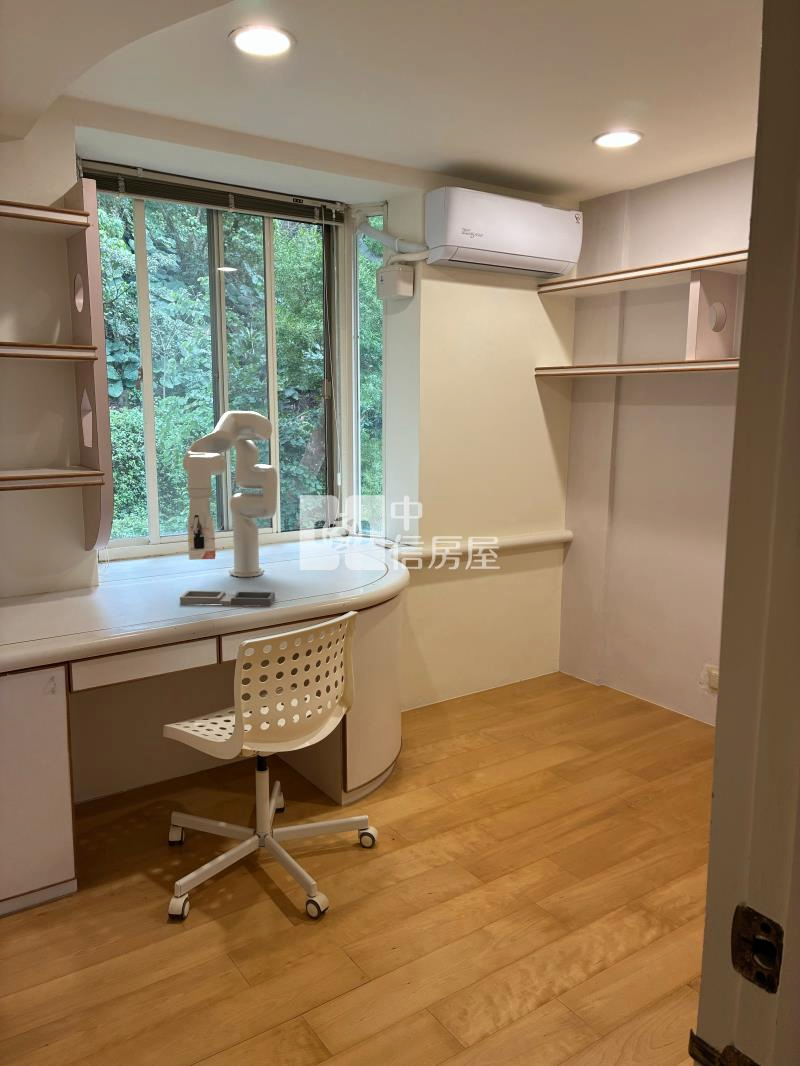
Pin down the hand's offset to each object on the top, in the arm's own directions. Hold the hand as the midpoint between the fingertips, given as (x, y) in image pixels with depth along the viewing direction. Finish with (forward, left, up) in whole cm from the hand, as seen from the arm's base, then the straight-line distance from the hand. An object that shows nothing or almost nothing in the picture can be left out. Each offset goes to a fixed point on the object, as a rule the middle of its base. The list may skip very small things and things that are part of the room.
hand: (201, 546), depth 264 cm
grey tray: (0, +15, -19) cm, 24 cm away
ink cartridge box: (0, 0, -4) cm, 4 cm away
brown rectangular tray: (0, 0, -19) cm, 19 cm away
